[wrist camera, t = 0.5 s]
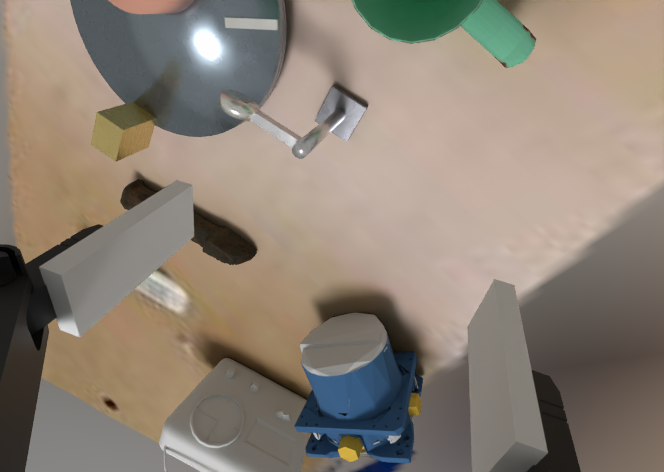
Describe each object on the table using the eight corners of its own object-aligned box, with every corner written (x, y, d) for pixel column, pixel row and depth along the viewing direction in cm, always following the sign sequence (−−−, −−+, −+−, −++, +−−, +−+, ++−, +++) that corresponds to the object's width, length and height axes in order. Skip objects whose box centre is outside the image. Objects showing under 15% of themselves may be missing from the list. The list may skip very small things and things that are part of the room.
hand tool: (137, 197, 54) (113, 212, 50) (141, 175, 52) (115, 188, 48) (252, 263, 54) (237, 282, 50) (261, 243, 52) (246, 262, 48)
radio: (328, 403, 65) (270, 585, 45) (311, 424, 70) (251, 598, 49) (217, 343, 65) (108, 496, 45) (208, 368, 70) (104, 518, 49)
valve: (428, 379, 55) (415, 473, 42) (335, 381, 61) (298, 464, 48) (405, 301, 51) (384, 378, 38) (309, 311, 57) (262, 381, 44)
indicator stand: (367, 106, 38) (331, 145, 27) (348, 138, 41) (308, 187, 30) (288, 55, 38) (219, 73, 27) (274, 90, 40) (204, 121, 29)
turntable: (52, -127, 34) (-32, -156, 28) (281, -141, 29) (237, -179, 23) (122, 137, 46) (74, 155, 40) (290, 158, 41) (264, 183, 35)
